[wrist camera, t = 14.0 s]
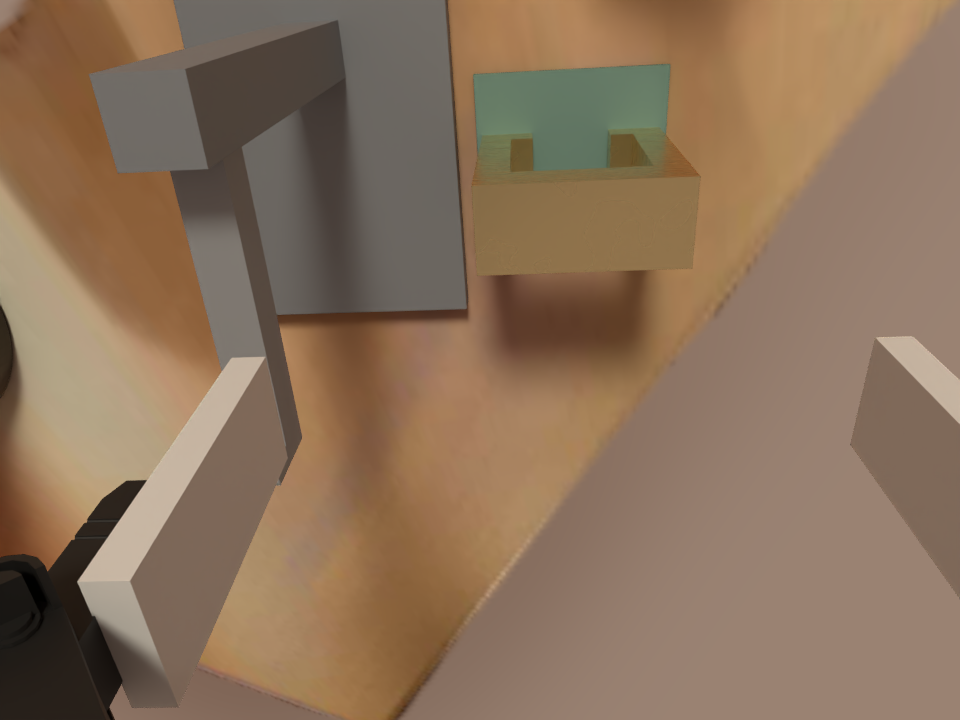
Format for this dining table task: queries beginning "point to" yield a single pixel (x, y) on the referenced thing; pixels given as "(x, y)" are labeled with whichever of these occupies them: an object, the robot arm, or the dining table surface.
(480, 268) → the c link
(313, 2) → the stand
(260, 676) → the dining table surface
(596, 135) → the mat
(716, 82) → the dining table surface
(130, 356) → the dining table surface
